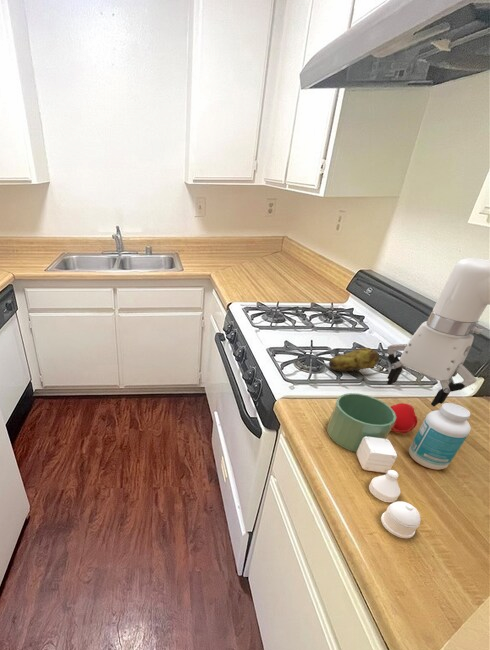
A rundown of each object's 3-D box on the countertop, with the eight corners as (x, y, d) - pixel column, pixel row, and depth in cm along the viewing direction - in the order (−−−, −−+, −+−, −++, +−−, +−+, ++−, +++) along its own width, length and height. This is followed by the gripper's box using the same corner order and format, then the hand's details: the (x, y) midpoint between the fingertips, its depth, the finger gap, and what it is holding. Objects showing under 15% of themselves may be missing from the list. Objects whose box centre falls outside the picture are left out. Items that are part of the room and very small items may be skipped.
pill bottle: (455, 469, 73) (490, 419, 66) (425, 473, 72) (456, 423, 65) (427, 445, 79) (456, 397, 72) (399, 448, 78) (425, 400, 71)
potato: (328, 360, 112) (335, 337, 108) (372, 369, 108) (381, 346, 103) (326, 372, 106) (334, 348, 101) (373, 382, 101) (383, 358, 97)
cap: (413, 441, 80) (424, 421, 77) (384, 433, 82) (394, 413, 79) (409, 421, 87) (419, 402, 83) (382, 414, 89) (391, 395, 85)
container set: (354, 454, 76) (363, 435, 73) (379, 457, 76) (389, 438, 73) (386, 535, 60) (399, 515, 57) (419, 540, 59) (434, 521, 56)
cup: (392, 440, 80) (406, 413, 76) (363, 461, 75) (377, 433, 70) (345, 413, 88) (355, 387, 84) (316, 430, 83) (325, 403, 78)
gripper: (509, 336, 65) (462, 407, 75) (414, 306, 77) (383, 371, 87) (494, 345, 62) (446, 419, 71) (397, 312, 74) (367, 379, 83)
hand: (412, 393), depth 79 cm, fingers open, 9 cm apart
